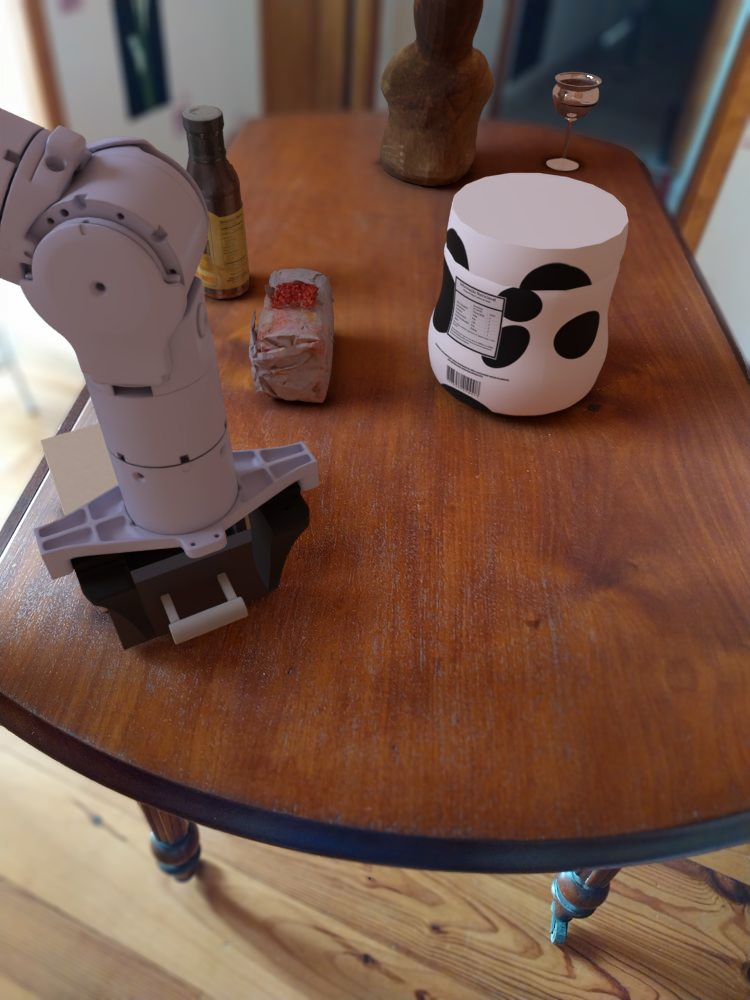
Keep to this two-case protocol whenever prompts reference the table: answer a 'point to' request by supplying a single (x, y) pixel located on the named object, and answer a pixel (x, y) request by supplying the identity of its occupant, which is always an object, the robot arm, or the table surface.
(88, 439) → the beige box-shaped shell
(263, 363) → the food item
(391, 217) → the table surface
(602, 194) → the milk container
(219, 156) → the sauce bottle
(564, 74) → the wineglass
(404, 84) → the ceramic vessel
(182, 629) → the drawer
